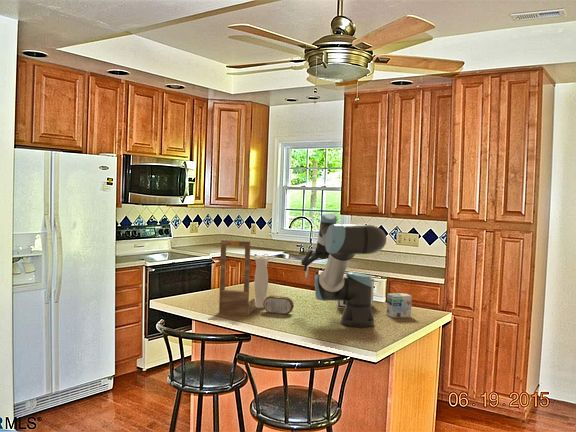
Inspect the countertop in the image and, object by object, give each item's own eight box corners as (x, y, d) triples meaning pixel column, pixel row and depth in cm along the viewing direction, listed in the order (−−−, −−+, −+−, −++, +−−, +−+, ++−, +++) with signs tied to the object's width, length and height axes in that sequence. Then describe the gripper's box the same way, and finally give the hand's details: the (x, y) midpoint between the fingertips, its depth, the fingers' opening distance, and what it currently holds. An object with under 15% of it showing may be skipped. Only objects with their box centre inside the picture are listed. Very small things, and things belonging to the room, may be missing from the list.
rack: (246, 316, 262) (249, 241, 260) (218, 313, 265) (220, 239, 263) (254, 309, 276) (256, 238, 275) (227, 307, 279) (229, 237, 277)
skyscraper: (271, 308, 280) (273, 253, 279) (256, 309, 277) (257, 254, 276) (265, 305, 288) (267, 251, 287) (251, 305, 285) (252, 252, 284)
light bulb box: (391, 317, 269) (392, 296, 268) (385, 314, 275) (386, 293, 275) (411, 317, 272) (412, 295, 271) (405, 314, 278) (406, 293, 278)
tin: (293, 314, 270) (294, 297, 269) (291, 315, 267) (292, 298, 266) (264, 311, 274) (264, 294, 273) (262, 312, 271) (262, 295, 270)
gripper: (348, 239, 275) (342, 273, 286) (299, 236, 273) (294, 270, 283) (351, 247, 269) (344, 282, 280) (300, 244, 266) (295, 279, 277)
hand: (319, 276), depth 282 cm, fingers open, 13 cm apart
